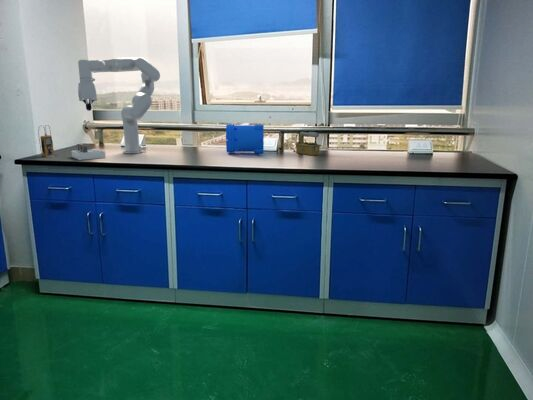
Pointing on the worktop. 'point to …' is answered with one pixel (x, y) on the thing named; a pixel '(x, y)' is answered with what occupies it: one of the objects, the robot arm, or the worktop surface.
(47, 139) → the multimeter
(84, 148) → the breaker
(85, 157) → the breaker panel
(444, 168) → the worktop surface
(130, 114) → the robot arm
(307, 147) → the geiger counter
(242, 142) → the blue plastic case
